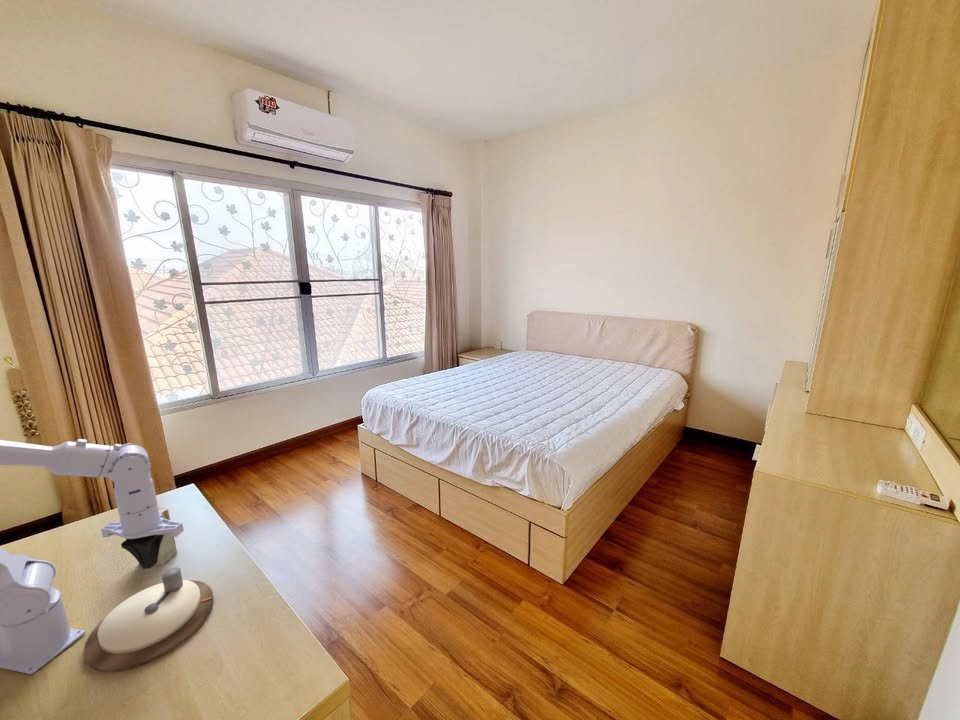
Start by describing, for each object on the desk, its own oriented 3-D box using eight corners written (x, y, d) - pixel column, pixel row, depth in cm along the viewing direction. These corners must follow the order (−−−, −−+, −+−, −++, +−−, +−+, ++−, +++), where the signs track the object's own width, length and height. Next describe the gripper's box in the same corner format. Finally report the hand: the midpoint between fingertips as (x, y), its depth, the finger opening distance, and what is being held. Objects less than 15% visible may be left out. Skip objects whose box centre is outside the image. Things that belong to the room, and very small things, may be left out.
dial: (160, 653, 67) (155, 629, 66) (74, 654, 67) (68, 629, 66) (217, 586, 81) (214, 565, 80) (147, 586, 81) (142, 565, 80)
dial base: (54, 662, 67) (53, 655, 66) (160, 579, 85) (159, 574, 85) (146, 681, 64) (145, 674, 63) (235, 591, 82) (234, 585, 82)
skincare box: (178, 553, 93) (170, 508, 91) (162, 566, 89) (153, 519, 86) (154, 551, 94) (145, 506, 91) (137, 564, 90) (127, 517, 87)
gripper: (189, 494, 79) (199, 551, 82) (119, 494, 79) (132, 551, 82) (162, 515, 72) (174, 576, 75) (85, 515, 72) (100, 576, 75)
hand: (150, 565), depth 78 cm, fingers closed
